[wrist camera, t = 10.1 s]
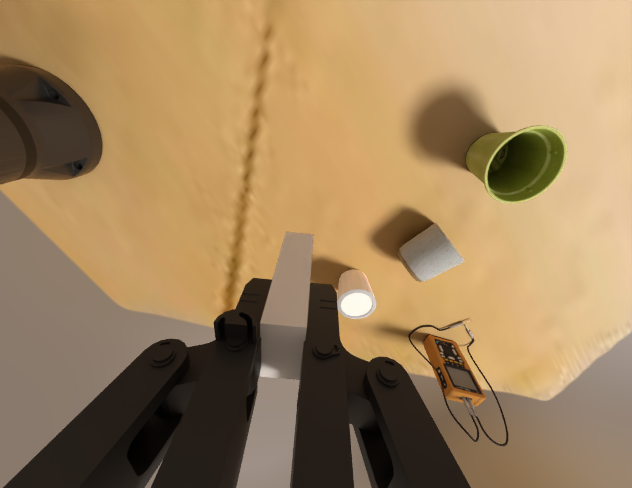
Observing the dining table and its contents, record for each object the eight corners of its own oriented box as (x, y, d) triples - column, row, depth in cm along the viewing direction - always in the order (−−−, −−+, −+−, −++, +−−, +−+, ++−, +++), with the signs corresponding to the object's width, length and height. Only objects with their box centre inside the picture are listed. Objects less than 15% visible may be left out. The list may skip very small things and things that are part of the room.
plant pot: (528, 117, 37) (581, 121, 29) (510, 182, 41) (552, 201, 34) (460, 123, 38) (494, 129, 30) (449, 187, 42) (477, 206, 34)
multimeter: (489, 323, 56) (564, 424, 39) (462, 352, 61) (518, 454, 43) (429, 305, 54) (479, 404, 37) (406, 337, 59) (441, 437, 41)
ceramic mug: (390, 243, 47) (402, 268, 41) (430, 215, 44) (449, 236, 38) (422, 278, 51) (437, 305, 44) (460, 253, 48) (483, 279, 42)
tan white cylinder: (331, 290, 53) (332, 315, 47) (341, 263, 50) (344, 286, 44) (363, 297, 54) (368, 322, 48) (375, 271, 50) (382, 294, 44)
